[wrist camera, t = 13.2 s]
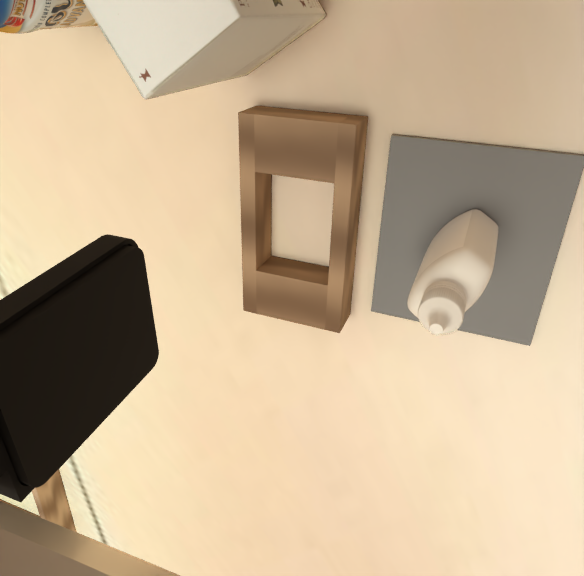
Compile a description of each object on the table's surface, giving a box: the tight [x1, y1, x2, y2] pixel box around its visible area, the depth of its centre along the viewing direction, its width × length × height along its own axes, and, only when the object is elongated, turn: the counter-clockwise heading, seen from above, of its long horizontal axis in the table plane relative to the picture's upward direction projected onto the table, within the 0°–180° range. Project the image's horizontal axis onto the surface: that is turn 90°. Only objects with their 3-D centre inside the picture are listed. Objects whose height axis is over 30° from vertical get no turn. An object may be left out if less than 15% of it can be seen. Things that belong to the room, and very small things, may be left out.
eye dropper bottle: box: [407, 209, 498, 335], centre depth 32 cm, size 4×6×12 cm
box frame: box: [0, 469, 76, 532], centre depth 77 cm, size 21×19×4 cm
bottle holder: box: [238, 106, 368, 333], centre depth 40 cm, size 16×8×3 cm, turn 179°
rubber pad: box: [371, 134, 584, 346], centre depth 37 cm, size 14×12×1 cm
